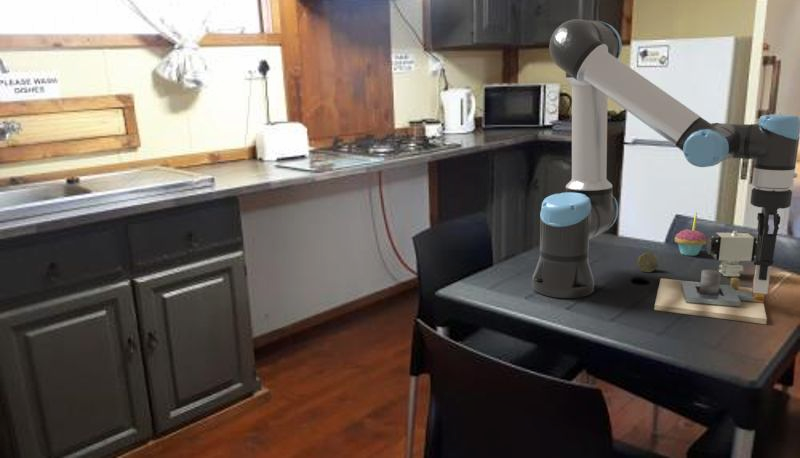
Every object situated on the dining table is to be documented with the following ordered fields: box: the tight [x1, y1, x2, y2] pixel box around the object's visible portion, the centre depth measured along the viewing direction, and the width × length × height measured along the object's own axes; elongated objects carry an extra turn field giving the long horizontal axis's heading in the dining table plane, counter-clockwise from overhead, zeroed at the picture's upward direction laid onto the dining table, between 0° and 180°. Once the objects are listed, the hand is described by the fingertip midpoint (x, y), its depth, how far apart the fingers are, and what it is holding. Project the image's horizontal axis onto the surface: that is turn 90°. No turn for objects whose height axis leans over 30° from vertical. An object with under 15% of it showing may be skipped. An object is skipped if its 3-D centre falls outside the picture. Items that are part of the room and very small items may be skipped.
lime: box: [637, 252, 659, 273], centre depth 167 cm, size 4×5×5 cm
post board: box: [654, 269, 768, 325], centre depth 143 cm, size 22×20×7 cm
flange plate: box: [681, 277, 766, 307], centre depth 142 cm, size 16×11×5 cm, turn 71°
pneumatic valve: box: [706, 230, 757, 278], centre depth 161 cm, size 6×12×12 cm, turn 79°
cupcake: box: [674, 212, 708, 257], centre depth 180 cm, size 9×8×12 cm
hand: (760, 292), depth 138 cm, fingers closed
